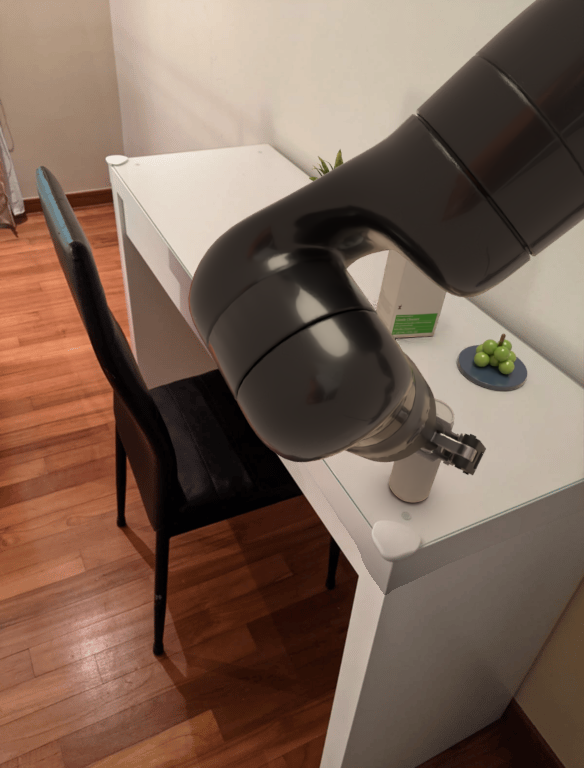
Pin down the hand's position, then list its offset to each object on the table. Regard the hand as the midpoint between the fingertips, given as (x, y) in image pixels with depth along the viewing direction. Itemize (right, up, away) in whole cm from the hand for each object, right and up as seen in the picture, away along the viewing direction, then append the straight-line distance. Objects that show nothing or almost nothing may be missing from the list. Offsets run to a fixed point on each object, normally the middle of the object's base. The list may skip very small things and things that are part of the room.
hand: (409, 431), depth 56 cm
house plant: (-3, +33, +63) cm, 71 cm away
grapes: (+18, +7, +33) cm, 39 cm away
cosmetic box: (+7, +13, +40) cm, 43 cm away
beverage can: (+3, -8, +14) cm, 16 cm away
